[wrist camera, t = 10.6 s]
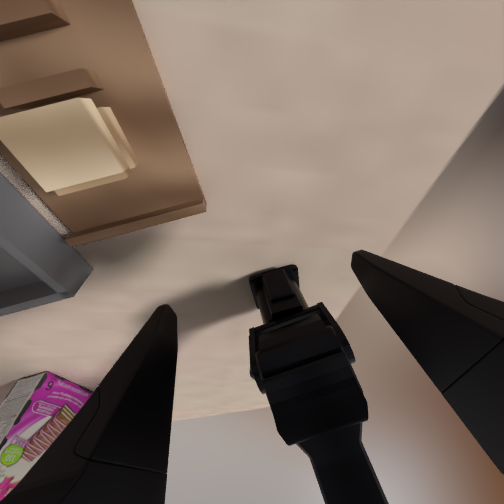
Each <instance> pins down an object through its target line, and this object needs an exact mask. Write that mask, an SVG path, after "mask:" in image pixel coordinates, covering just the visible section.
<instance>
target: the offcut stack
mask: <svg viewBox="0 0 504 504" xmlns="http://www.w3.org/2000/svg"><path fill="white" fill-rule="evenodd" d="M0 140H1V141H2V142H3V144H4V145H5V146H6V147H7V148H8V149H9V150H10V152H11V153H12V154H13V155H14V156H15V157H16V158H17V160H18V161H19V162H20V163H21V164H22V165H23V166H24V168H25V169H26V170H27V171H28V172H29V173H30V174H31V176H32V177H33V178H34V179H35V180H36V181H37V182H38V184H39V185H40V186H41V187H42V188H43V189H44V190H45V192H50V191H53V190H54V191H55V192H56V194H57V195H58V196H61V195H65V194H69V193H73V192H76V191H80V190H84V189H88V188H92V187H96V186H99V185H103V184H107V183H111V182H115V181H118V180H122V179H126V178H127V177H128V176H130V175H131V174H132V172H131V170H130V169H131V168H134V167H136V166H137V165H138V164H139V162H138V160H137V158H136V156H135V154H134V152H133V150H132V148H131V146H130V144H129V142H128V140H127V139H126V137H125V135H124V133H123V131H122V129H121V127H120V125H119V123H118V121H117V119H116V117H115V116H114V114H113V112H112V110H111V108H110V107H99V108H96V106H95V104H94V103H93V101H92V99H89V98H74V99H70V100H66V101H62V102H58V103H54V104H50V105H46V106H42V107H38V108H34V109H30V110H26V111H22V112H18V113H15V114H11V115H7V116H3V117H0Z"/></svg>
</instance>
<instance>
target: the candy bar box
mask: <svg viewBox="0 0 504 504" xmlns="http://www.w3.org/2000/svg"><path fill="white" fill-rule="evenodd" d="M92 393H93V392H92V391H90V390H87V389H85V388H83V387H81V386H79V385H76V384H74V383H72V382H70V381H67V380H65V379H63V378H61V377H59V376H57V375H54V374H52V373H50V372H48V371H46V372H41V373H38V374H35V375H33V376H29V377H26V378H23V379H20V380H18V381H17V382H16V384H15V385H14V387H13V388H12V389H11V391H10V392H9V394H8V395H7V397H6V398H5V400H4V401H3V402H2V404H1V405H0V501H1V500H2V499H3V498H4V497H5V496H6V495H7V494H8V493H9V492H10V491H11V490H12V489H13V488H14V487H15V486H16V485H17V484H18V483H19V482H20V480H21V479H22V478H23V477H24V476H25V475H26V474H27V472H28V471H29V470H30V469H31V468H32V466H33V465H34V464H35V463H36V462H37V460H38V459H39V458H40V457H41V456H42V455H43V453H44V452H45V451H46V450H47V449H48V447H49V446H50V445H51V444H52V443H53V442H54V440H55V439H56V438H57V437H58V436H59V434H60V433H61V432H62V431H63V430H64V428H65V427H66V426H67V425H68V424H69V422H70V421H71V420H72V419H73V418H74V416H75V415H76V414H77V413H78V411H79V410H80V409H81V407H82V406H83V405H84V404H85V402H86V401H87V400H88V399H89V397H90V396H91V395H92Z"/></svg>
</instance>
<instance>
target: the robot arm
mask: <svg viewBox="0 0 504 504" xmlns="http://www.w3.org/2000/svg"><path fill="white" fill-rule="evenodd" d="M351 268H352V270H353V272H354V273H355V275H356V277H357V278H358V280H359V282H360V283H361V285H362V287H363V288H364V290H365V292H366V293H367V295H368V296H369V298H370V299H371V301H372V302H373V303H374V305H375V306H376V307H377V308H378V310H379V311H380V312H381V314H382V315H383V316H384V318H385V319H386V321H387V322H388V323H389V324H390V326H391V327H392V328H393V330H394V331H395V332H396V334H397V335H398V336H399V338H400V339H401V340H402V342H403V343H404V344H405V346H406V347H407V348H408V350H409V351H410V352H411V354H412V355H413V356H414V358H415V359H416V360H417V362H418V363H419V364H420V366H421V367H422V368H423V370H424V371H425V372H426V374H427V375H428V376H429V378H430V379H431V380H432V381H433V383H434V384H435V386H436V387H437V388H438V390H439V391H440V392H441V393H442V395H443V396H444V398H445V399H446V400H447V402H448V403H449V404H450V406H451V407H452V408H453V410H454V411H455V412H456V414H457V415H458V416H459V418H460V419H461V420H462V421H463V423H464V424H465V426H466V427H467V428H468V430H469V431H470V432H471V434H472V435H473V436H474V438H475V439H476V440H477V442H478V443H479V444H480V446H481V447H482V448H483V450H484V451H485V452H486V453H487V455H488V456H489V458H490V459H491V460H492V461H493V463H494V464H495V465H496V467H497V468H498V469H499V470H500V471H501V473H502V474H503V475H504V302H502V301H500V300H496V299H493V298H491V297H487V296H485V295H482V294H479V293H477V292H474V291H471V290H468V289H466V288H463V287H460V286H457V285H454V284H452V283H449V282H447V281H444V280H441V279H439V278H436V277H434V276H431V275H428V274H426V273H423V272H420V271H417V270H415V269H412V268H410V267H407V266H404V265H402V264H399V263H396V262H394V261H391V260H388V259H386V258H383V257H380V256H378V255H375V254H372V253H370V252H367V251H364V250H359V251H355V252H353V254H352V261H351ZM249 283H250V286H251V290H252V293H253V296H254V300H255V303H256V306H257V308H258V309H260V312H261V316H262V320H263V325H261V326H258V327H255V328H254V327H253V328H250V329H249V333H250V336H249V350H250V376H251V377H252V378H253V379H254V380H255V381H256V383H257V385H258V388H259V390H260V391H261V393H262V394H265V393H266V395H267V398H268V401H269V404H270V407H271V410H272V413H273V416H274V419H275V423H276V427H277V431H278V433H279V434H280V436H281V437H282V438H283V440H284V441H285V442H286V444H287V445H289V446H290V445H293V444H297V445H298V446H299V447H300V448H301V449H302V450H303V451H304V452H305V453H306V454H307V455H308V456H309V458H310V461H311V463H312V466H313V469H314V472H315V475H316V478H317V481H318V484H319V487H320V490H321V493H322V496H323V499H324V502H325V504H388V501H387V499H386V497H385V495H384V492H383V490H382V488H381V485H380V483H379V481H378V478H377V476H376V474H375V471H374V469H373V467H372V464H371V462H370V460H369V457H368V455H367V453H366V451H365V448H364V446H363V443H362V441H361V437H362V422H364V421H367V420H368V406H367V401H366V399H365V397H364V395H363V391H362V388H361V386H360V384H359V382H358V380H357V377H356V375H355V373H354V370H353V368H352V366H351V364H352V363H354V362H355V357H354V354H353V351H352V349H351V347H350V344H349V342H348V340H347V339H346V336H345V335H344V333H343V331H342V330H341V328H340V327H339V325H338V324H337V322H336V321H335V320H334V318H333V317H332V315H331V314H330V313H329V311H328V310H327V308H326V307H325V306H324V304H323V303H322V302H320V303H317V305H314V306H312V307H308V305H307V303H306V301H305V299H304V297H303V295H302V293H301V291H300V289H299V277H298V268H297V266H296V265H291V266H287V267H283V268H280V269H276V270H273V271H269V272H265V273H262V274H258V275H254V276H251V277H249ZM177 352H178V338H177V316H176V314H175V312H174V311H173V310H172V308H171V307H170V306H169V305H168V304H165V305H161V306H159V307H158V308H157V309H156V310H155V312H154V313H153V314H152V316H151V317H150V318H149V320H148V321H147V322H146V323H145V325H144V326H143V327H142V329H141V330H140V331H139V333H138V334H137V335H136V337H135V338H134V339H133V341H132V342H131V343H130V345H129V346H128V347H127V349H126V350H125V351H124V352H123V354H122V355H121V356H120V358H119V359H118V360H117V362H116V363H115V364H114V366H113V367H112V368H111V370H110V371H109V372H108V374H107V375H106V376H105V378H104V379H103V380H102V382H101V383H100V384H99V386H98V387H97V388H96V389H95V391H94V392H93V393H92V395H91V396H90V397H89V399H88V400H87V401H86V402H85V404H84V405H83V406H82V407H81V409H80V410H79V411H78V413H77V414H76V415H75V416H74V418H73V419H72V420H71V421H70V422H69V424H68V425H67V426H66V427H65V428H64V430H63V431H62V432H61V433H60V434H59V436H58V437H57V438H56V439H55V440H54V442H53V443H52V444H51V445H50V446H49V447H48V449H47V450H46V451H45V452H44V453H43V455H42V456H41V457H40V458H39V459H38V460H37V462H36V463H35V464H34V465H33V466H32V468H31V469H30V470H29V471H28V472H27V474H26V475H25V476H24V477H23V478H22V479H21V480H20V482H19V483H18V484H17V485H16V486H15V487H14V488H13V489H12V490H11V491H10V492H9V493H8V494H7V495H6V496H5V497H4V498H3V499H2V500H1V501H0V504H165V492H166V481H167V474H166V473H167V467H168V456H169V444H170V433H171V422H172V410H173V399H174V387H175V376H176V364H177Z"/></svg>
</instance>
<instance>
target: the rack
mask: <svg viewBox="0 0 504 504" xmlns="http://www.w3.org/2000/svg"><path fill="white" fill-rule="evenodd" d="M74 98H89V99H92V101H93V103H94V104H95V106H96V108H99V107H110V108H111V110H112V112H113V114H114V116H115V117H116V119H117V121H118V123H119V125H120V127H121V129H122V131H123V133H124V135H125V137H126V139H127V140H128V142H129V144H130V146H131V148H132V150H133V152H134V154H135V156H136V158H137V160H138V162H139V164H138V165H137V166H136V167H134V168H131V169H130V170H131V172H132V174H131V175H130V176H128V177H127V178H126V179H122V180H118V181H115V182H111V183H107V184H103V185H99V186H96V187H92V188H88V189H84V190H80V191H76V192H73V193H69V194H65V195H61V196H58V195H57V194H56V192H55V191H54V190H53V191H50V192H45V190H44V189H43V188H42V187H41V186H40V185H39V184H38V182H37V181H36V180H35V179H34V178H33V177H32V176H31V174H30V173H29V172H28V171H27V170H26V169H25V168H24V166H23V165H22V164H21V163H20V162H19V161H18V160H17V158H16V157H15V156H14V155H13V154H12V153H11V152H10V150H9V149H8V148H7V147H6V146H5V145H4V144H3V142H2V141H1V140H0V154H1V155H2V156H3V157H4V158H5V159H6V160H7V161H8V163H9V164H10V165H11V166H12V167H13V168H14V169H15V170H16V171H17V172H18V174H19V175H20V176H21V177H22V178H23V179H24V180H25V181H26V182H27V184H28V185H29V186H30V187H31V188H32V189H33V190H34V191H35V192H36V193H37V195H38V196H39V197H40V198H41V199H42V200H43V201H44V202H45V203H46V204H47V206H48V207H49V208H50V209H51V210H52V211H53V212H54V213H55V214H56V215H57V217H58V218H59V219H60V220H61V221H62V222H63V223H64V224H65V225H66V227H67V228H68V229H69V230H70V231H71V232H72V234H71V235H70V236H68V237H67V238H66V239H65V241H66V242H67V243H68V244H69V245H70V246H71V247H76V246H79V245H83V244H87V243H91V242H94V241H98V240H102V239H106V238H109V237H113V236H117V235H121V234H124V233H128V232H132V231H136V230H139V229H143V228H147V227H151V226H154V225H158V224H162V223H166V222H169V221H173V220H177V219H181V218H184V217H188V216H192V215H196V214H199V213H203V212H206V201H205V198H204V195H203V193H202V190H201V187H200V185H199V182H198V179H197V176H196V174H195V171H194V168H193V165H192V163H191V160H190V157H189V155H188V152H187V149H186V146H185V144H184V141H183V138H182V136H181V133H180V130H179V127H178V125H177V122H176V119H175V116H174V114H173V111H172V108H171V106H170V103H169V100H168V97H167V95H166V92H165V89H164V87H163V84H162V81H161V78H160V76H159V73H158V70H157V67H156V65H155V62H154V59H153V57H152V54H151V51H150V48H149V46H148V43H147V40H146V38H145V35H144V32H143V29H142V27H141V24H140V21H139V18H138V16H137V13H136V10H135V8H134V5H133V2H132V0H0V117H3V116H7V115H11V114H15V113H18V112H22V111H26V110H30V109H34V108H38V107H42V106H46V105H50V104H54V103H58V102H62V101H66V100H70V99H74Z"/></svg>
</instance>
